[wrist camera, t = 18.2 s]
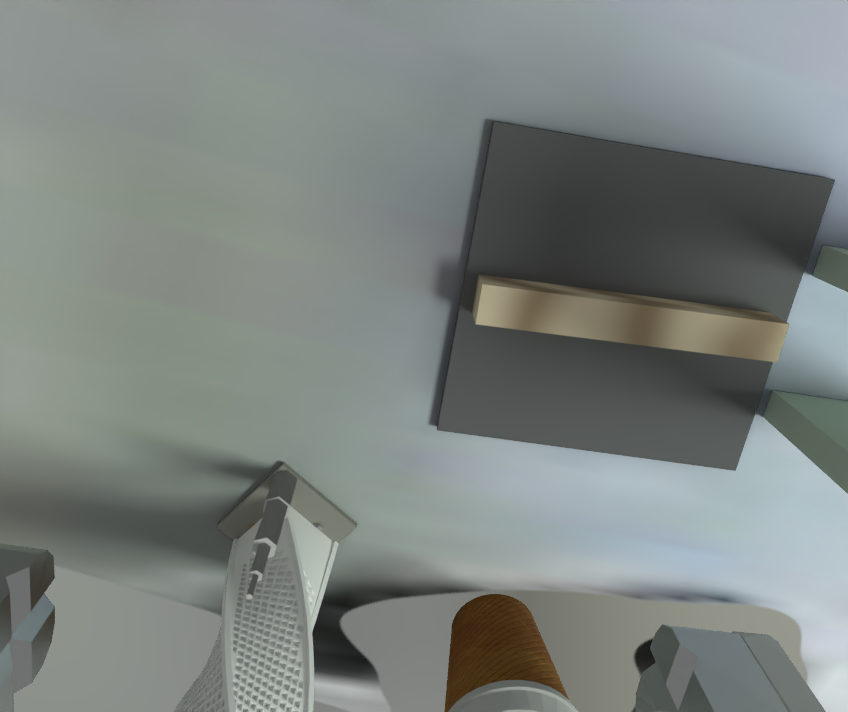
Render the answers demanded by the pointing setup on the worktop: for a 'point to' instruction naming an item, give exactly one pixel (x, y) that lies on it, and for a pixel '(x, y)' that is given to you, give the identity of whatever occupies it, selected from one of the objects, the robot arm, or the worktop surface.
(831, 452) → the bridge
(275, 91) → the worktop surface
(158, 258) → the worktop surface
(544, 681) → the disposable coffee cup
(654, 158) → the mat
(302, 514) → the skyscraper
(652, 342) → the bar
